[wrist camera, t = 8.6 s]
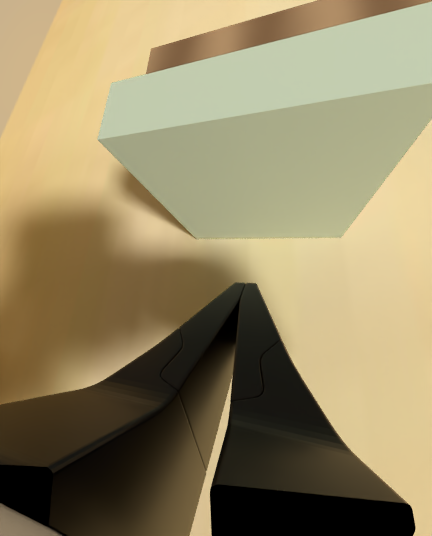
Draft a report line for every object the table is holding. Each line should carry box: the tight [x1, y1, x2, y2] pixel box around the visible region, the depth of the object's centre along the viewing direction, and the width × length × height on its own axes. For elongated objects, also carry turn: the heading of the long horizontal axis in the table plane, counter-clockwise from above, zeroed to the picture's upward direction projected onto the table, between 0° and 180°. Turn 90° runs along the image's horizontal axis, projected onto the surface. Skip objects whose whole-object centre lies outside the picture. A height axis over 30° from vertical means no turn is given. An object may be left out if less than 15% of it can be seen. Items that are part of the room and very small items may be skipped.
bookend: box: [98, 2, 432, 239], centre depth 12 cm, size 12×10×10 cm
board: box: [146, 0, 432, 74], centre depth 16 cm, size 18×2×4 cm, turn 85°
